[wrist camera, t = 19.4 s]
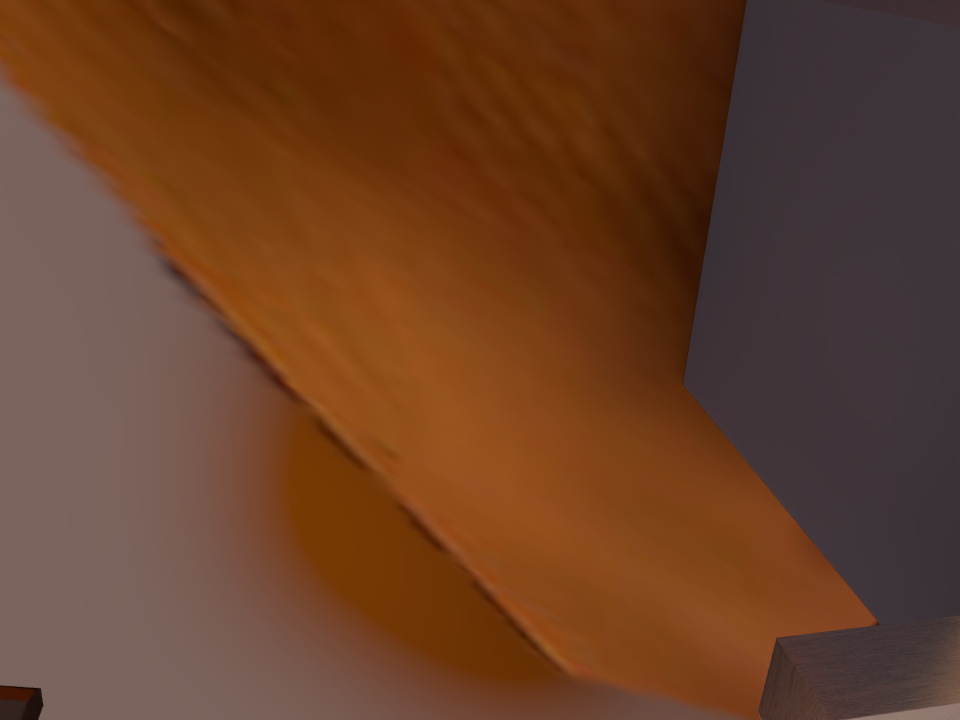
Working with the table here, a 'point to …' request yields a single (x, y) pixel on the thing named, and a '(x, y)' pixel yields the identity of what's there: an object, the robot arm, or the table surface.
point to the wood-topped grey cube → (844, 287)
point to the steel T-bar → (867, 673)
